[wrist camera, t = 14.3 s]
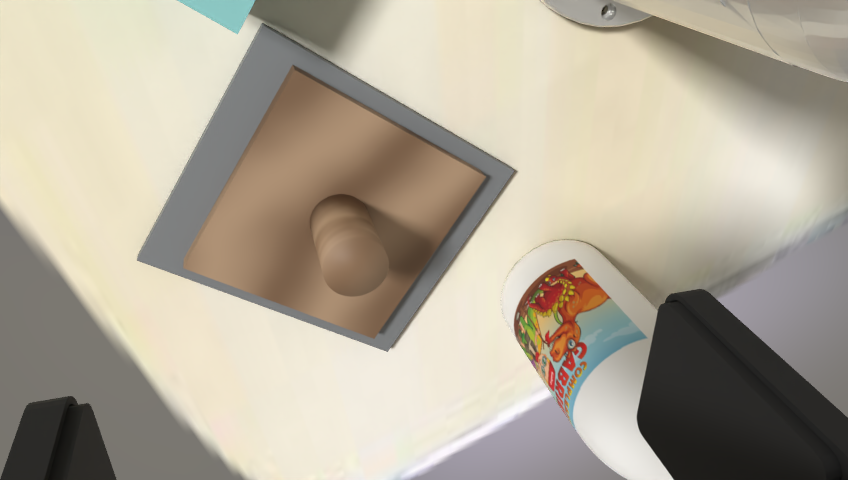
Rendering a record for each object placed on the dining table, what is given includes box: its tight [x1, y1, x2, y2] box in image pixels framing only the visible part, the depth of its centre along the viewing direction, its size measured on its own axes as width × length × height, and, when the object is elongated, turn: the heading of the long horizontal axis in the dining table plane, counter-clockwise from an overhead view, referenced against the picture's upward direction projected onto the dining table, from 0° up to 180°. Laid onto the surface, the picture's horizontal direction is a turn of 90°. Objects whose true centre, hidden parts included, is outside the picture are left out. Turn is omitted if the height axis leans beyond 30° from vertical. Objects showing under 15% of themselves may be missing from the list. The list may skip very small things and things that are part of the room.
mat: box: [137, 23, 514, 352], centre depth 38 cm, size 16×14×1 cm
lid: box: [183, 65, 486, 339], centre depth 35 cm, size 12×12×6 cm
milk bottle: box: [501, 240, 674, 480], centre depth 37 cm, size 8×8×20 cm
